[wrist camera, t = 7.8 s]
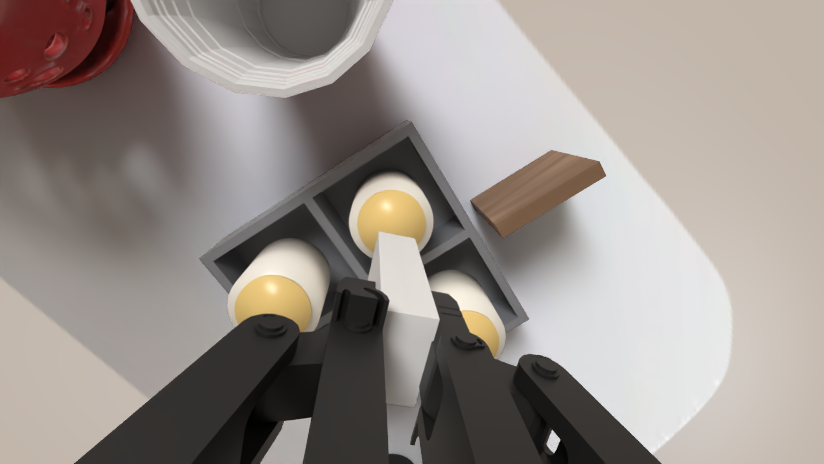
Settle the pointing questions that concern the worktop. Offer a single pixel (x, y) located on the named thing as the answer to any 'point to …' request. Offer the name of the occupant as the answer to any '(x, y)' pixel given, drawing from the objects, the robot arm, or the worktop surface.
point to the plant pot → (59, 41)
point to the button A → (283, 284)
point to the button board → (329, 228)
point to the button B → (389, 210)
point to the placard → (536, 190)
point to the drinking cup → (398, 459)
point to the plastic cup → (266, 39)
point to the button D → (472, 306)
